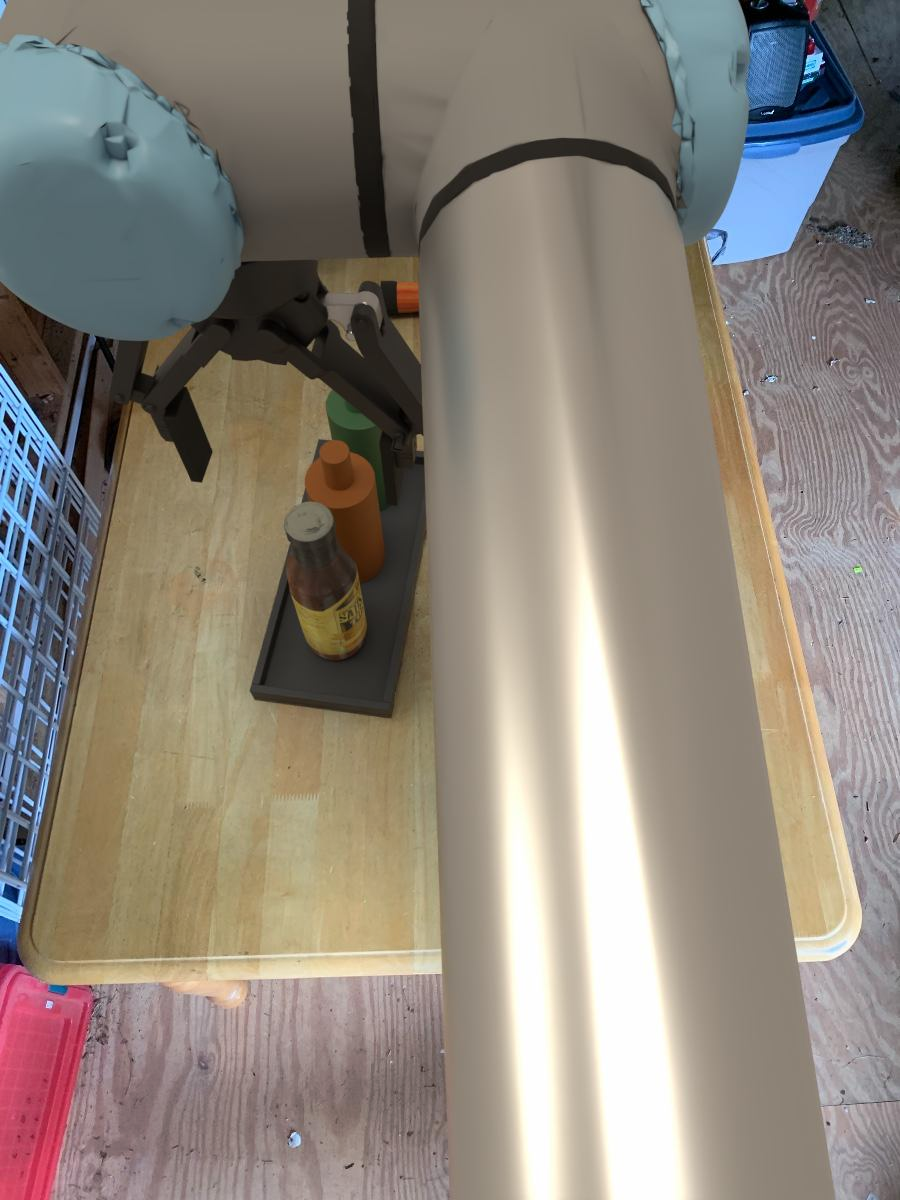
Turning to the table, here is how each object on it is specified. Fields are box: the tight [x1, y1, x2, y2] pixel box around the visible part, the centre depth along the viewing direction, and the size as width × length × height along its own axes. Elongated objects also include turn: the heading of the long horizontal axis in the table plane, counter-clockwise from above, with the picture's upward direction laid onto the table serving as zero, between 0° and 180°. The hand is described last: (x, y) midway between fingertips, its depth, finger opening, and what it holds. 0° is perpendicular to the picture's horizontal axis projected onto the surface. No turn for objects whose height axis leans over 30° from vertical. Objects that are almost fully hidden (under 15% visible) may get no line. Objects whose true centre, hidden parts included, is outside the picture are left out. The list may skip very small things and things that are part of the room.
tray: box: [249, 438, 427, 719], centre depth 87 cm, size 31×14×2 cm, turn 172°
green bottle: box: [325, 389, 391, 511], centre depth 84 cm, size 6×6×18 cm
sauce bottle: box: [283, 502, 367, 660], centre depth 75 cm, size 7×6×20 cm
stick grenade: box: [379, 280, 419, 316], centre depth 104 cm, size 5×5×30 cm
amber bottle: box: [304, 439, 385, 583], centre depth 80 cm, size 6×6×18 cm
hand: (298, 478), depth 57 cm, fingers open, 13 cm apart
